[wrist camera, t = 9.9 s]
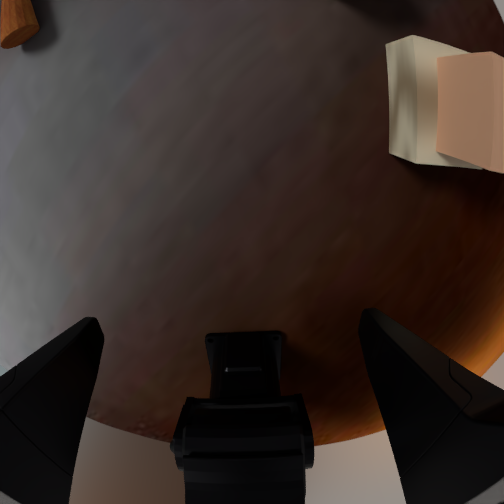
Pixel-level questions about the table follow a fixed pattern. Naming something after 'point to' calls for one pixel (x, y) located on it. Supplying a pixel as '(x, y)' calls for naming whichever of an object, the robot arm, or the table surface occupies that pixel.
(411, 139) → the birch brick
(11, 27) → the kendama
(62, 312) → the table surface
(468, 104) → the terracotta brick
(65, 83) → the table surface
